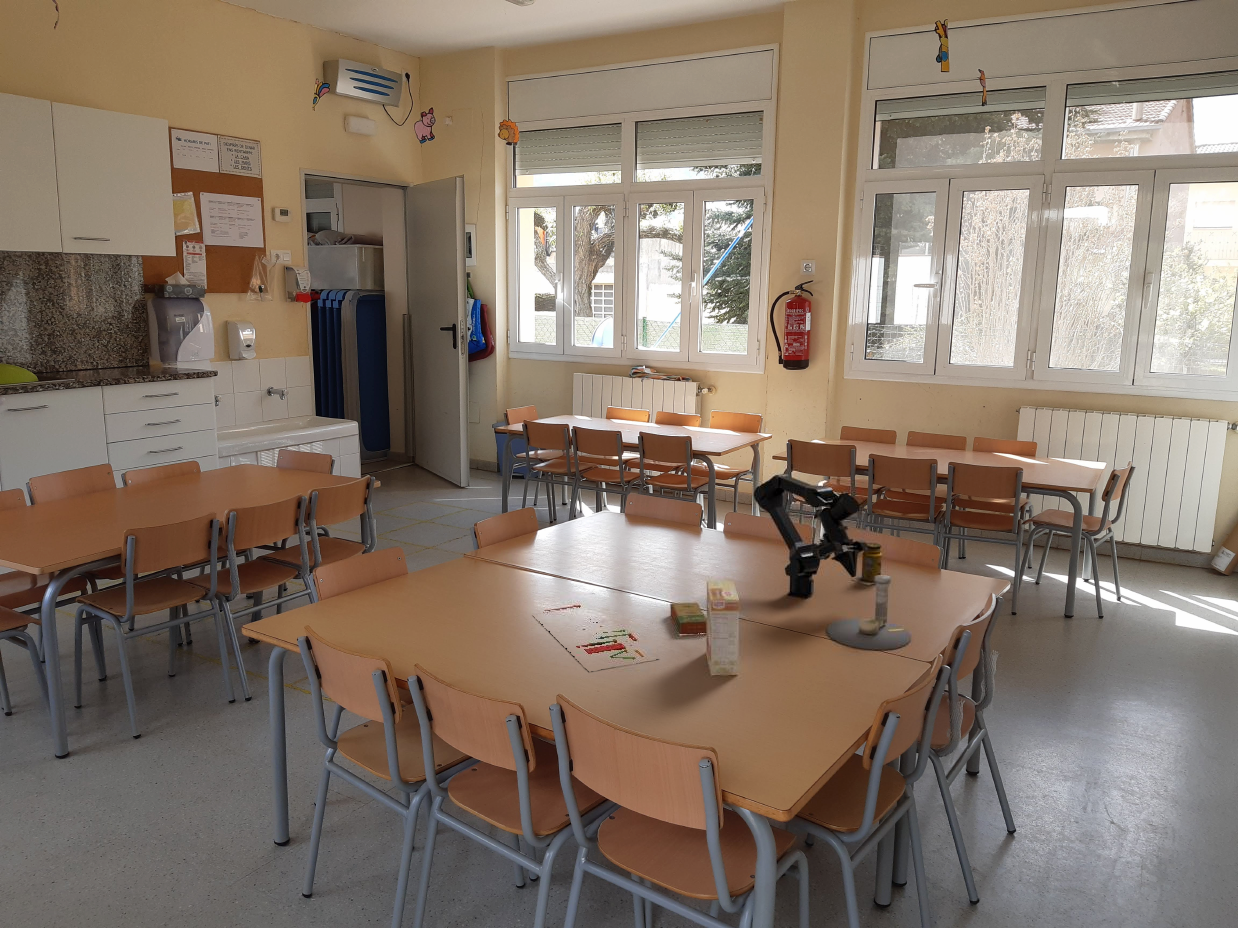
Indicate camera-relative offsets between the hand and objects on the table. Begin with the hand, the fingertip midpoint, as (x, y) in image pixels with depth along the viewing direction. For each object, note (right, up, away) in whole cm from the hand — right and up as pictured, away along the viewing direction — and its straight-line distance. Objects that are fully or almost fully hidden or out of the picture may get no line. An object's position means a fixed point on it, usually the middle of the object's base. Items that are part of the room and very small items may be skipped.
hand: (854, 576), depth 256 cm
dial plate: (0, -14, -13) cm, 19 cm away
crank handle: (+3, -13, -10) cm, 17 cm away
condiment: (+14, -6, +34) cm, 37 cm away
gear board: (-75, -15, -13) cm, 78 cm away
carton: (-48, -14, -5) cm, 50 cm away
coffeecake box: (-42, -18, -32) cm, 56 cm away
